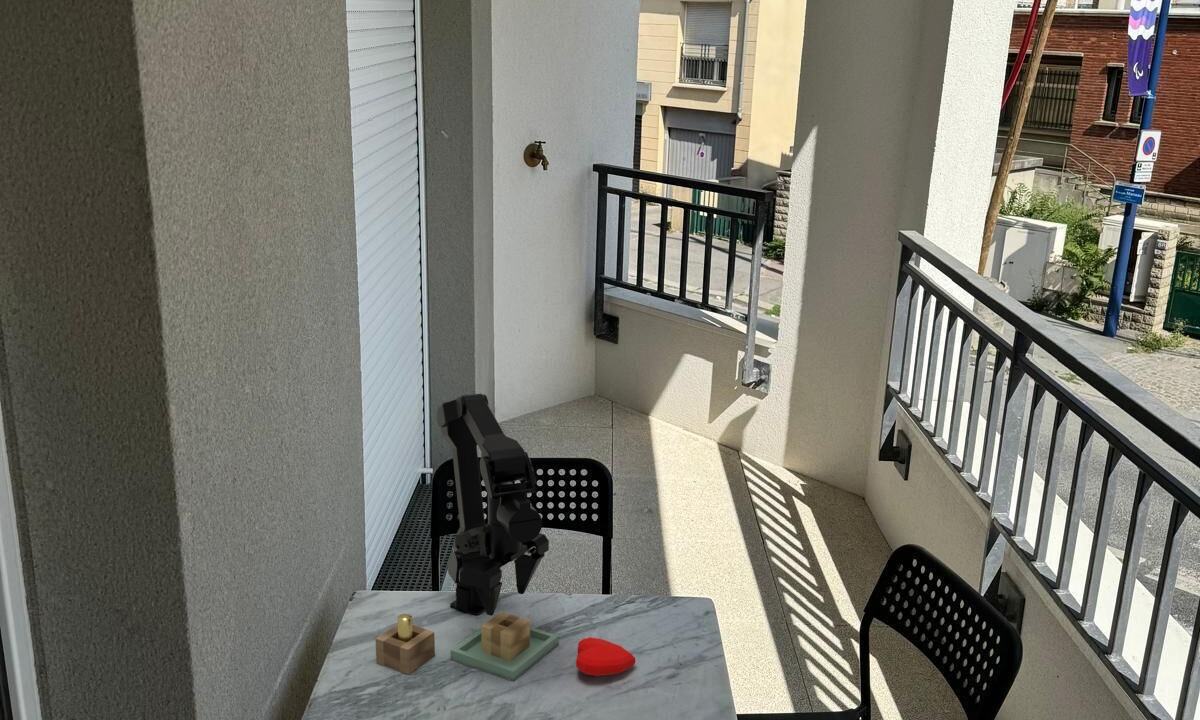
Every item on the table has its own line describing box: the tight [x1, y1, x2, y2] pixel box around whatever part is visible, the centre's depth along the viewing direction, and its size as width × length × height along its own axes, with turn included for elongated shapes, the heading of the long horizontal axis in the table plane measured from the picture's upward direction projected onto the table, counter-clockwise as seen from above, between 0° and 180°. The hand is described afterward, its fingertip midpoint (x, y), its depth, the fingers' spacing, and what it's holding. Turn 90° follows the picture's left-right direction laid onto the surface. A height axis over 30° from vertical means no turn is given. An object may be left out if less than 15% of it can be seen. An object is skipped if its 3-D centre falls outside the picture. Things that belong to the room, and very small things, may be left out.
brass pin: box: [397, 613, 413, 643], centre depth 186 cm, size 2×2×8 cm
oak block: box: [480, 611, 531, 661], centre depth 189 cm, size 6×6×5 cm
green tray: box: [450, 626, 560, 682], centre depth 190 cm, size 14×13×2 cm
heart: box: [575, 637, 636, 677], centre depth 185 cm, size 12×4×10 cm
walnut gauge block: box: [375, 624, 436, 675], centre depth 186 cm, size 7×7×5 cm
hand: (505, 603), depth 187 cm, fingers open, 9 cm apart
